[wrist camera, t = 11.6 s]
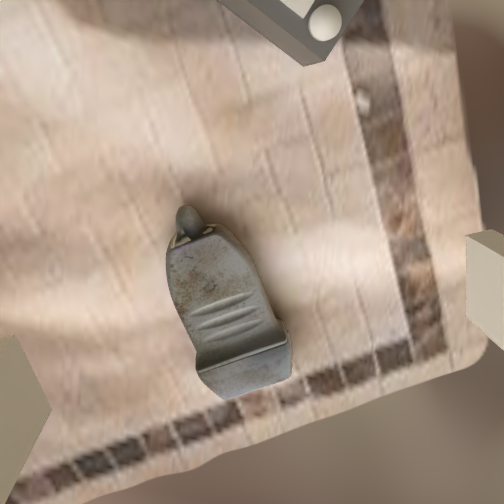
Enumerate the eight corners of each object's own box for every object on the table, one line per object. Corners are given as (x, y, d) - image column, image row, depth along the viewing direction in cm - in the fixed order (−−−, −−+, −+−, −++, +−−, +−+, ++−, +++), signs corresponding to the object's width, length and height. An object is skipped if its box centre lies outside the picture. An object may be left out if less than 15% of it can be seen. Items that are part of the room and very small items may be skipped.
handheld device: (232, 182, 38) (234, 195, 33) (297, 353, 45) (306, 381, 41) (134, 219, 38) (124, 236, 34) (215, 382, 46) (215, 413, 41)
